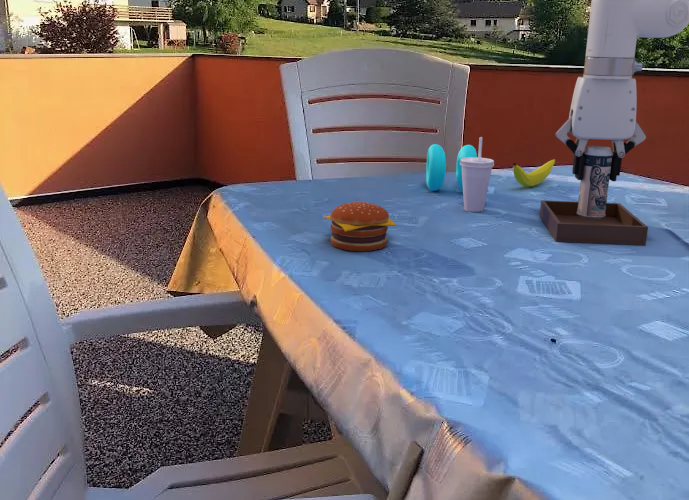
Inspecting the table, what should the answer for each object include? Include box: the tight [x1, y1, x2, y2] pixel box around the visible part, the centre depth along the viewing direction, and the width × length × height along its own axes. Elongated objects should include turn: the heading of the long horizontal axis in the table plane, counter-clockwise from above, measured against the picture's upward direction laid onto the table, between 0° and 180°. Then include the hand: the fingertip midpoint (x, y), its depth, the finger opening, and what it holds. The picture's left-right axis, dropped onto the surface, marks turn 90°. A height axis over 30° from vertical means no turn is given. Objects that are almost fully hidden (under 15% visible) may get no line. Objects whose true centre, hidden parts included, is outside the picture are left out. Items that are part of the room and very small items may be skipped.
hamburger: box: [322, 201, 397, 252], centre depth 112 cm, size 9×10×7 cm
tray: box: [539, 199, 649, 246], centre depth 123 cm, size 14×17×3 cm
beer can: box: [577, 145, 613, 219], centre depth 121 cm, size 5×5×12 cm
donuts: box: [425, 143, 478, 192], centre depth 152 cm, size 10×10×10 cm
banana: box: [512, 158, 556, 188], centre depth 159 cm, size 3×19×6 cm, turn 137°
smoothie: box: [460, 136, 495, 213], centre depth 135 cm, size 6×6×14 cm
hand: (595, 178), depth 121 cm, fingers closed on beer can, 4 cm apart
